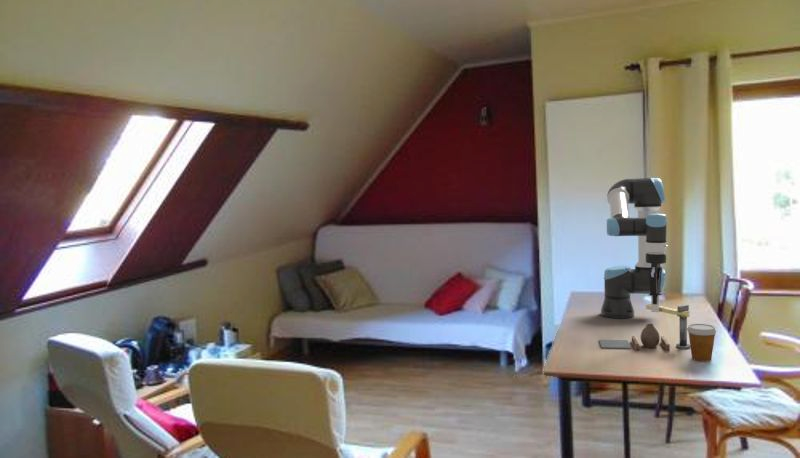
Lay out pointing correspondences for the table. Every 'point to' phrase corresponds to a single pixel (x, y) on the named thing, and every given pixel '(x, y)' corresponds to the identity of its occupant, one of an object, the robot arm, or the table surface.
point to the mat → (614, 344)
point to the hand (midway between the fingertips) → (655, 311)
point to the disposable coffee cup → (701, 341)
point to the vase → (650, 336)
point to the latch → (674, 310)
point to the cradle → (663, 341)
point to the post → (683, 334)
